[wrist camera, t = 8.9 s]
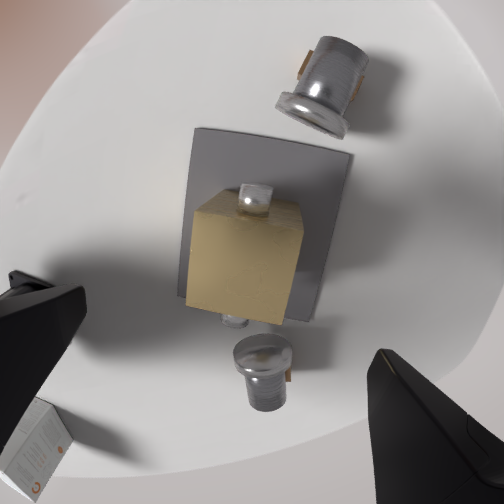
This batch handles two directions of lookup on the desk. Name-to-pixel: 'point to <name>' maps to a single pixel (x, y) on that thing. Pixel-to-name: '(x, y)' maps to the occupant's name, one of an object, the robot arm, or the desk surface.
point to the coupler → (244, 255)
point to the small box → (34, 450)
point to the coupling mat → (284, 187)
